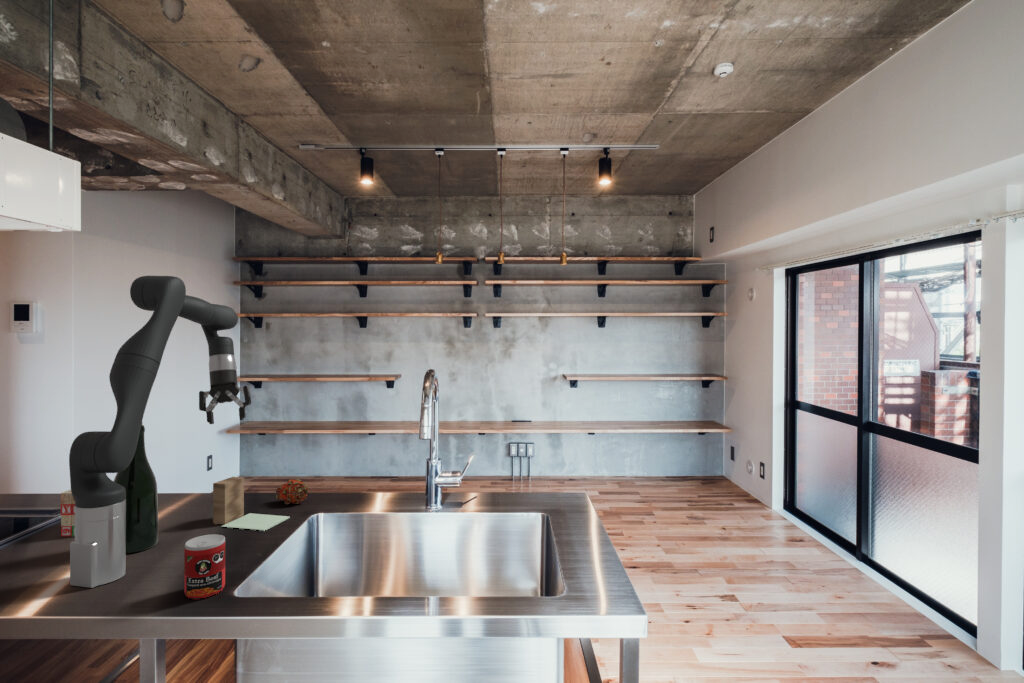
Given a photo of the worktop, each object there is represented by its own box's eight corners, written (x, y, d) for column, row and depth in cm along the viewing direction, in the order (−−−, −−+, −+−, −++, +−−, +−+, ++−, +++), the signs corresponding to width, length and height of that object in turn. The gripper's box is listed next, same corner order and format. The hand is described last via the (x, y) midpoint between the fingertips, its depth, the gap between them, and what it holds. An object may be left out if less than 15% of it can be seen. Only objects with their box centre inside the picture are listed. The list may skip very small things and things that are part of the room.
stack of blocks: (116, 512, 171) (116, 473, 171) (136, 512, 171) (136, 473, 171) (60, 537, 150) (60, 492, 150) (82, 537, 150) (82, 492, 150)
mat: (264, 531, 155) (264, 529, 155) (221, 527, 158) (221, 526, 158) (289, 517, 166) (289, 516, 166) (249, 514, 169) (249, 513, 169)
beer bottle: (142, 554, 137) (143, 423, 137) (99, 555, 137) (99, 424, 137) (166, 539, 148) (167, 418, 148) (126, 540, 147) (126, 418, 147)
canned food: (181, 603, 112) (181, 549, 112) (187, 586, 120) (187, 536, 120) (223, 596, 115) (223, 544, 115) (226, 580, 123) (226, 532, 123)
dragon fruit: (307, 510, 179) (278, 512, 182) (319, 489, 185) (290, 491, 189) (294, 493, 174) (264, 495, 178) (307, 472, 181) (277, 475, 185)
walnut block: (224, 525, 160) (224, 484, 160) (212, 524, 160) (212, 483, 160) (243, 516, 167) (243, 477, 167) (231, 515, 168) (231, 476, 168)
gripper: (193, 371, 166) (197, 425, 163) (244, 365, 169) (248, 418, 167) (201, 374, 173) (205, 425, 171) (250, 369, 176) (254, 419, 174)
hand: (226, 422), depth 169 cm, fingers open, 8 cm apart
